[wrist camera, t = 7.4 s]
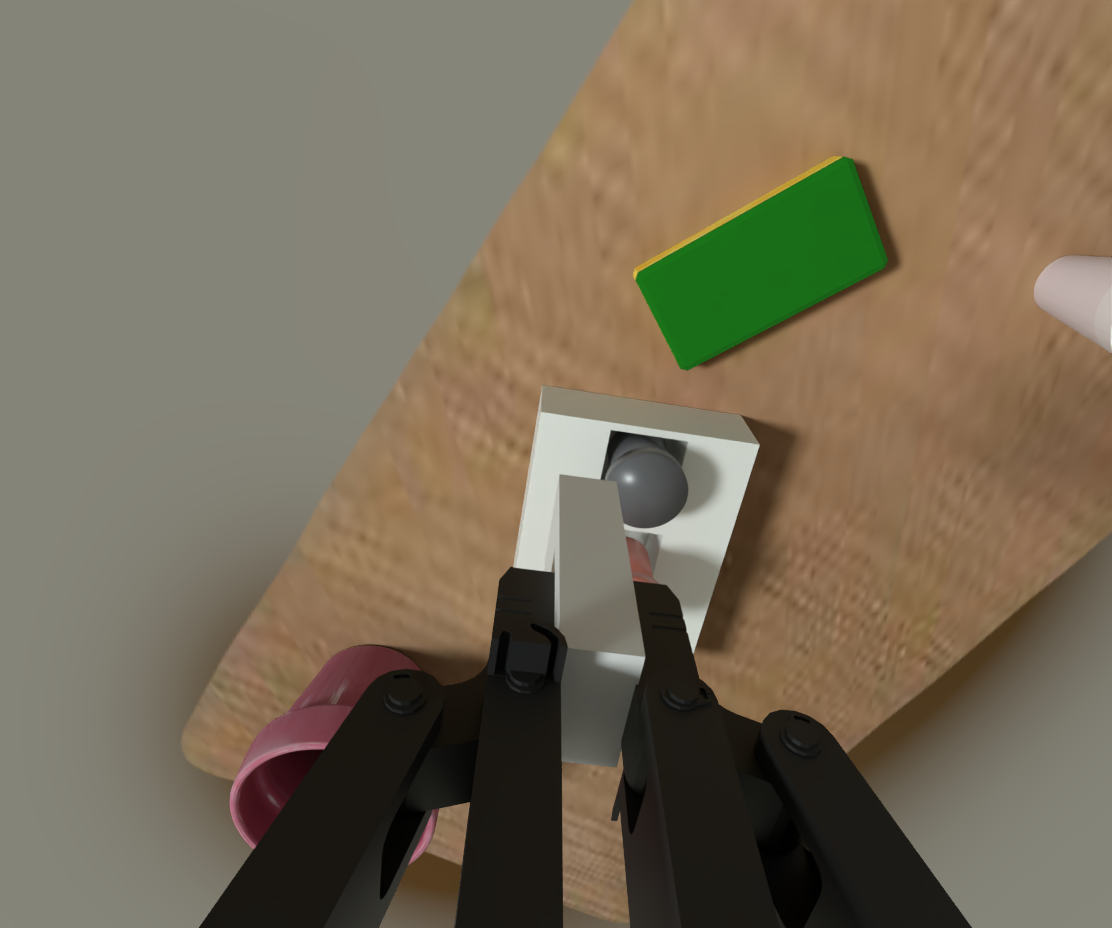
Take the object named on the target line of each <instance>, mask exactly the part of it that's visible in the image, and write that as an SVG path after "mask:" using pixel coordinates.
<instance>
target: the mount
mask: <svg viewBox="0 0 1112 928" xmlns="http://www.w3.org/2000/svg"><path fill="white" fill-rule="evenodd" d="M618 431H621V432H628V433H635V434H641V435H648V436H655V437H661V438H663V439H664V442H665V444H666V447H667V450H668V453H669V454H671V455H672V456H673V457H675V458H676V459H677V461H678V462H679V463H680V465H681V466H682V469H683V471H684V474H685V476H686V479H687V483H688V497H687V501H686V504H685V506H684V507H683V509H682V510H681V512H680V513H679V514H678V515H677V516H676V517H675V518H674V519H672V520H671V521H669V522H668V523H666V524H664V525H661V526H658V527H654V528H644V529H643V528H635V527H631V526H628V525H626V524H624V529H625V535H626V537H631V538H634V539H636V540H637V541H639V542H640V543H642V544H643V546H644V547H645V548H646V550H647V552H648V555H649V560H650V564H651V569H652V573H653V578H654V579H655V580H656V581H657V582H658V583H659V584H664V585H667V586H668V587H669V588H670V589H671V591H672V592H673V593H674V594H675V596H676V597H677V598H678V599H679V601H680V605H681V609H682V613H683V619H684V620H685V624H686V628H687V633H688V636H689V640H690V644H691V648H692V652H693V653H694V650H695V647H696V644H697V641H698V638H699V634H700V631H701V628H702V625H703V622H704V619H705V616H706V612H707V609H708V606H709V603H710V600H711V597H712V594H713V590H714V587H715V584H716V581H717V578H718V575H719V571H720V568H721V565H722V562H723V559H724V556H725V553H726V549H727V546H728V543H729V540H730V537H731V534H732V531H733V527H734V524H735V521H736V518H737V515H738V512H739V509H740V505H741V502H742V499H743V496H744V493H745V490H746V487H747V483H748V480H749V477H750V474H751V471H752V468H753V465H754V461H755V458H756V455H757V452H758V449H759V446H760V444H759V443H758V441H757V440H756V438H755V437H754V435H753V433H752V432H751V430H750V429H749V427H748V426H747V424H746V423H745V421H744V420H743V418H742V416H741V415H736V414H729V413H723V412H716V411H710V410H703V409H697V408H690V407H684V406H677V405H670V404H664V403H657V402H651V401H644V400H638V399H631V398H624V397H618V396H611V395H605V394H598V393H592V392H585V391H578V390H572V389H565V388H559V387H552V386H546V385H542V390H541V396H540V403H539V409H538V415H537V421H536V428H535V434H534V440H533V446H532V452H531V459H530V465H529V471H528V477H527V484H526V490H525V496H524V502H523V509H522V515H521V521H520V527H519V534H518V540H517V546H516V552H515V559H514V565H513V567H514V568H522V569H530V570H538V571H544V568H545V557H546V551H547V545H548V539H549V533H550V527H551V521H552V515H553V509H554V503H555V497H556V491H557V485H558V479H559V474H563V475H570V476H578V477H585V478H593V479H600V480H605V477H606V473H607V471H608V469H609V462H608V455H607V449H608V445H609V442H610V440H611V438H612V437H613V436H614V434H615V433H616V432H618Z"/></svg>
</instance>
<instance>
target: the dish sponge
mask: <svg viewBox="0 0 1112 928" xmlns="http://www.w3.org/2000/svg"><path fill="white" fill-rule="evenodd" d="M887 262H888V259H887V256H886V253H885V250H884V247H883V244H882V241H881V239H880V236H879V233H878V230H877V227H876V224H875V221H874V219H873V216H872V213H871V210H870V207H869V204H868V201H867V199H866V196H865V193H864V190H863V187H862V184H861V181H860V179H859V176H858V173H857V170H856V167H855V164H854V161H853V159H850V158H847V157H840V156H833V157H831V158H829V159H827V160H826V161H824V162H822V163H820V164H819V165H817V166H815V167H813V168H811V169H810V170H808V171H806V172H804V173H803V174H801V175H799V176H797V177H795V178H794V179H792V180H790V181H788V182H787V183H785V184H783V185H781V186H780V187H778V188H776V189H774V190H772V191H771V192H769V193H767V194H765V195H764V196H762V197H760V198H758V199H756V200H755V201H753V202H751V203H749V204H748V205H746V206H744V207H742V208H741V209H739V210H737V211H735V212H733V213H732V214H730V215H728V216H726V217H725V218H723V219H721V220H719V221H717V222H716V223H714V224H712V225H710V226H709V227H707V228H705V229H703V230H701V231H700V232H698V233H696V234H694V235H693V236H691V237H689V238H687V239H686V240H684V241H682V242H680V243H678V244H677V245H675V246H673V247H671V248H670V249H668V250H666V251H664V252H662V253H661V254H659V255H657V256H655V257H654V258H652V259H650V260H648V261H647V262H645V263H643V264H641V265H639V266H638V267H636V268H635V270H634V273H633V277H634V279H635V281H636V282H637V284H638V286H639V288H640V290H641V292H642V294H643V296H644V298H645V300H646V302H647V304H648V306H649V308H650V310H651V312H652V314H653V316H654V318H655V320H656V322H657V324H658V326H659V328H660V330H661V332H662V334H663V336H664V338H665V340H666V342H667V344H668V345H669V347H670V349H671V351H672V353H673V355H674V357H675V359H676V361H677V363H678V365H679V367H680V369H684V370H687V371H688V370H689V369H691V368H693V367H695V366H697V365H699V364H701V363H703V362H705V361H707V360H709V359H711V358H713V357H714V356H716V355H718V354H720V353H722V352H724V351H726V350H728V349H730V348H732V347H734V346H736V345H738V344H739V343H741V342H743V341H745V340H747V339H749V338H751V337H753V336H755V335H757V334H759V333H761V332H763V331H764V330H766V329H768V328H770V327H772V326H774V325H776V324H778V323H780V322H782V321H784V320H786V319H788V318H789V317H791V316H793V315H795V314H797V313H799V312H801V311H803V310H805V309H807V308H809V307H811V306H813V305H814V304H816V303H818V302H820V301H822V300H824V299H826V298H828V297H830V296H832V295H834V294H836V293H838V292H839V291H841V290H843V289H845V288H847V287H849V286H851V285H853V284H855V283H857V282H859V281H861V280H863V279H864V278H866V277H868V276H870V275H872V274H874V273H876V272H878V271H880V270H882V269H884V268H885V266H886V264H887Z"/></svg>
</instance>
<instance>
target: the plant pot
mask: <svg viewBox="0 0 1112 928" xmlns="http://www.w3.org/2000/svg"><path fill="white" fill-rule="evenodd" d="M401 669H412V670H419V671H421V670H420V668H419V667H418V666H417V665H416V664H415V663H414V662H413V661H412V660H411V659H409V658H408V657H406V656H405V655H403V654H401V653H400V652H397V651H395V650H393V649H389V648H385V647H381V646H372V645H363V646H356V647H351V648H348V649H345V650H343V651H341V652H339V653H337V654H336V655H334V656H333V657H332V658H331V659H330V660H329V661H328V662H327V663H326V664H325V665H324V667H323V668H322V669H321V671H320V672H319V673H318V675H317V676H316V677H315V678H314V680H313V681H312V682H311V683H310V685H309V686H308V687H307V688H306V690H305V691H304V692H303V693H302V694H301V696H300V697H299V698H298V699H297V701H296V702H295V703H294V704H293V706H292V707H291V708H290V709H289V710H288V712H287V713H286V714H283V715H282V716H280V717H278V718H276V719H275V720H273V721H272V722H270V723H269V724H268V725H267V726H266V727H264V728H263V729H262V730H261V731H260V733H259V734H258V735H257V736H256V738H255V739H254V741H253V743H252V744H251V746H250V748H249V750H248V752H247V754H246V756H245V758H244V760H243V763H242V765H241V767H240V769H239V772H238V774H237V776H236V779H235V781H234V784H233V786H232V790H231V794H230V810H231V815H232V818H233V821H234V824H235V826H236V828H237V829H238V831H239V833H240V834H241V836H242V837H243V838H244V840H245V841H246V842H247V843H248V844H249V845H250V846H251V847H252V848H253V849H254V848H255V847H256V846H257V844H258V843H259V841H260V840H261V838H262V837H263V836H264V834H265V833H266V831H267V830H268V828H269V827H270V826H271V824H272V823H273V821H274V820H275V818H276V817H277V816H278V814H279V813H280V811H281V810H282V808H283V807H284V806H285V804H286V803H287V801H288V800H289V798H290V797H291V796H292V794H293V793H294V791H295V790H296V788H297V787H298V786H299V784H300V783H301V781H302V780H303V779H304V777H305V776H306V774H307V773H308V771H309V770H310V769H311V767H312V766H313V764H314V763H315V761H316V760H317V759H318V757H319V756H320V754H321V753H322V751H323V750H324V749H325V747H326V746H327V744H328V743H329V741H330V740H331V739H332V737H333V736H334V734H335V733H336V731H337V730H338V729H339V727H340V726H341V724H342V723H343V721H344V720H345V719H346V717H347V716H348V714H349V713H350V711H351V710H352V709H353V707H354V706H355V704H356V703H357V701H358V700H359V699H360V697H361V696H362V694H363V693H364V691H365V690H366V689H367V687H368V686H369V685H370V684H371V683H372V682H373V681H374V680H375V679H376V678H377V677H379V676H381V675H383V674H385V673H388V672H390V671H393V670H401ZM438 811H439V808H438V809H434V810H432V814H431V817H430V819H429V821H428V823H427V825H426V828H425V830H424V832H423V834H422V836H421V838H420V840H419V843H418V845H417V847H416V849H415V851H414V853H413V855H412V858H411V860H410V862H409V864H410V863H412V862H413V861H414V860H416V859H417V858H418V857H419V856H420V855H421V854H422V853H423V852H424V851H425V850H426V848H427V847H428V845H429V843H430V842H431V840H432V837H433V834H434V831H435V827H436V822H437V817H438ZM409 864H408V865H409Z"/></svg>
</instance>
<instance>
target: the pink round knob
mask: <svg viewBox="0 0 1112 928" xmlns="http://www.w3.org/2000/svg"><path fill="white" fill-rule="evenodd" d="M626 542H627V548H628V554H629V560H630V566H631V572H632V578H633V581H640V582H648V583H656V584H659V583H658V582H657V581H656V580H655V579H654V578H653V573H652V569H651V564H650V560H649V555H648V552H647V550H646V548H645V547H644V546H643V544H642V543H640V542H639V541H637V540H636V539H634V538H631V537H626Z"/></svg>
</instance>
